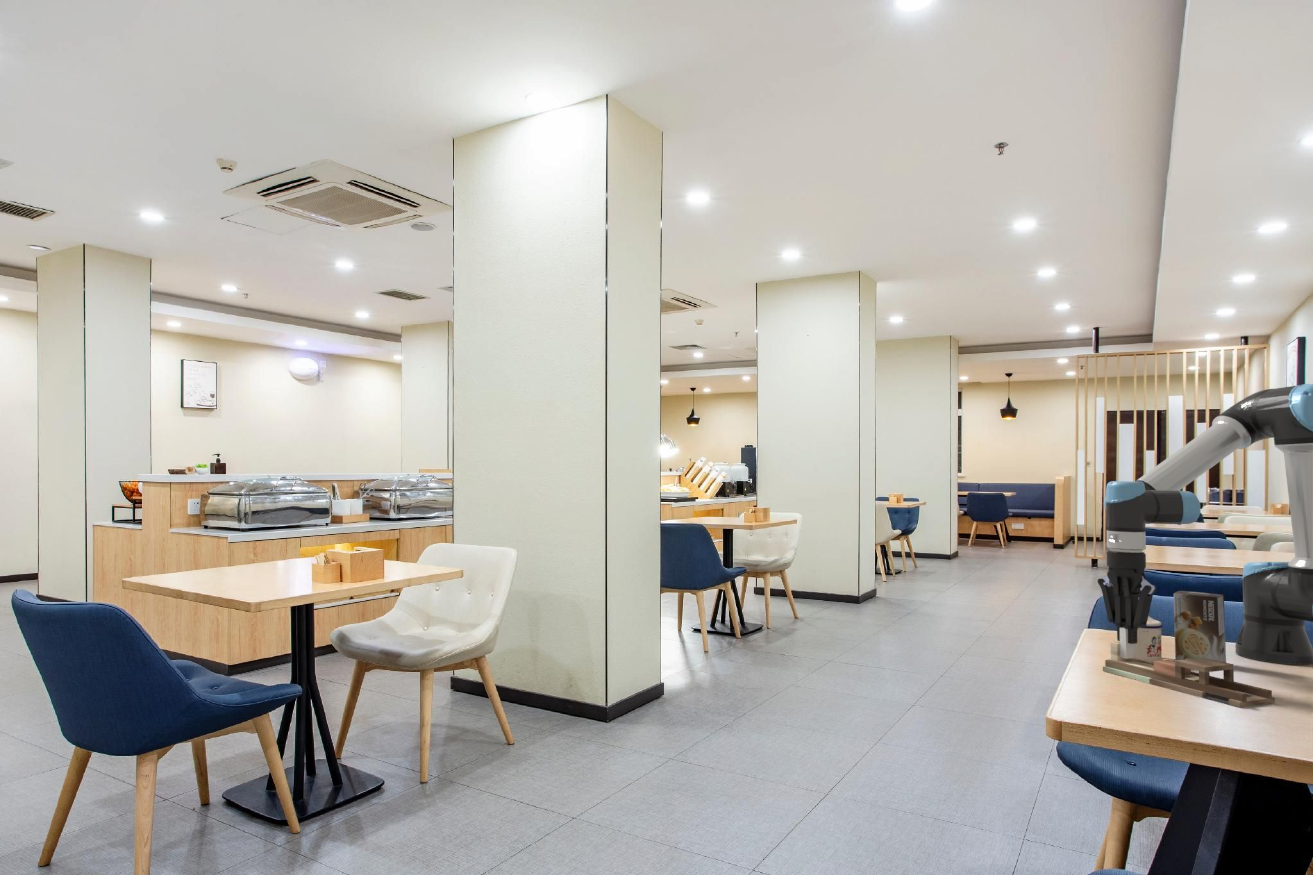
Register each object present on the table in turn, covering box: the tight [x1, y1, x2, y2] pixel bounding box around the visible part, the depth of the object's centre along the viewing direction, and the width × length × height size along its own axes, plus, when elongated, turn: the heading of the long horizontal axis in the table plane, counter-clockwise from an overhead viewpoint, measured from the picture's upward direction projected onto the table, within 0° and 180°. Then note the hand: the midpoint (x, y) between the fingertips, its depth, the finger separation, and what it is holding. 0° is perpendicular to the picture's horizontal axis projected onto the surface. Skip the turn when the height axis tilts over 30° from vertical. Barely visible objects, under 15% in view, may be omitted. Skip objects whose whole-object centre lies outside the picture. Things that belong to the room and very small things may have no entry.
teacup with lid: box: [1118, 615, 1163, 662], centre depth 188 cm, size 12×9×12 cm
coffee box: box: [1173, 590, 1227, 663], centre depth 185 cm, size 9×6×16 cm
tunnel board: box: [1102, 658, 1276, 708], centre depth 163 cm, size 10×29×6 cm, turn 21°
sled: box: [1110, 641, 1199, 682], centre depth 169 cm, size 4×19×5 cm, turn 21°
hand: (1127, 657), depth 175 cm, fingers closed
